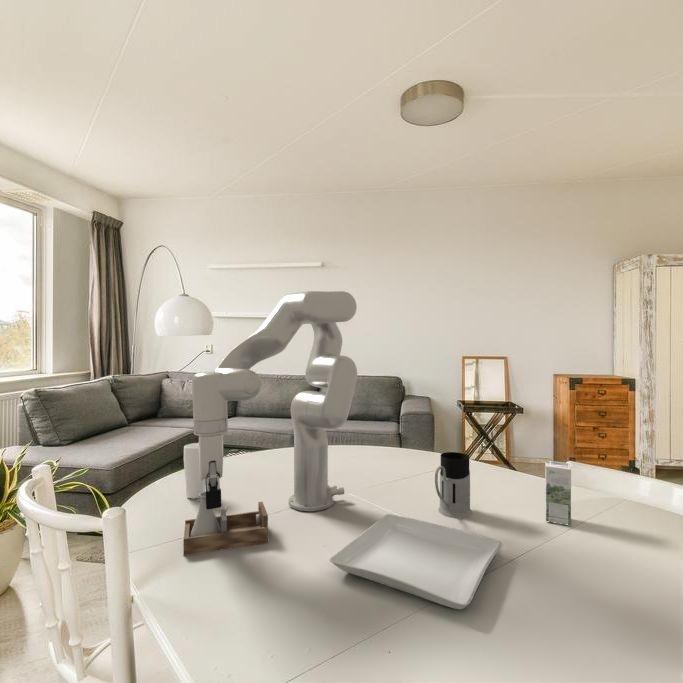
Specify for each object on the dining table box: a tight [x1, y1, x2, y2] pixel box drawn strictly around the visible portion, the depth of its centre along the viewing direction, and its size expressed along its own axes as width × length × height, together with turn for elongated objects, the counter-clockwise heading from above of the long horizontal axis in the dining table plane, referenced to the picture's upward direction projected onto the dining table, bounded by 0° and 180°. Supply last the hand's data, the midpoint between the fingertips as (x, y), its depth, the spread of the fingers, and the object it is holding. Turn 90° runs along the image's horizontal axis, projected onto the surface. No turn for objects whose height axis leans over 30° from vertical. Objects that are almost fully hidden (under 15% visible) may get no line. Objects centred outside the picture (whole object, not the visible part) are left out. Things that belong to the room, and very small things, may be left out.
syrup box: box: [544, 460, 572, 525], centre depth 108 cm, size 6×6×14 cm
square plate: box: [329, 513, 503, 610], centre depth 87 cm, size 27×27×4 cm
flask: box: [190, 491, 221, 537], centre depth 96 cm, size 7×7×10 cm
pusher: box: [220, 505, 227, 533], centre depth 98 cm, size 1×8×5 cm, turn 19°
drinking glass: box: [183, 442, 206, 500], centre depth 125 cm, size 7×7×15 cm
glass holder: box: [434, 451, 473, 519], centre depth 112 cm, size 9×14×15 cm, turn 137°
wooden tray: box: [182, 501, 269, 556], centre depth 98 cm, size 18×10×6 cm, turn 108°
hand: (213, 499), depth 97 cm, fingers open, 9 cm apart
